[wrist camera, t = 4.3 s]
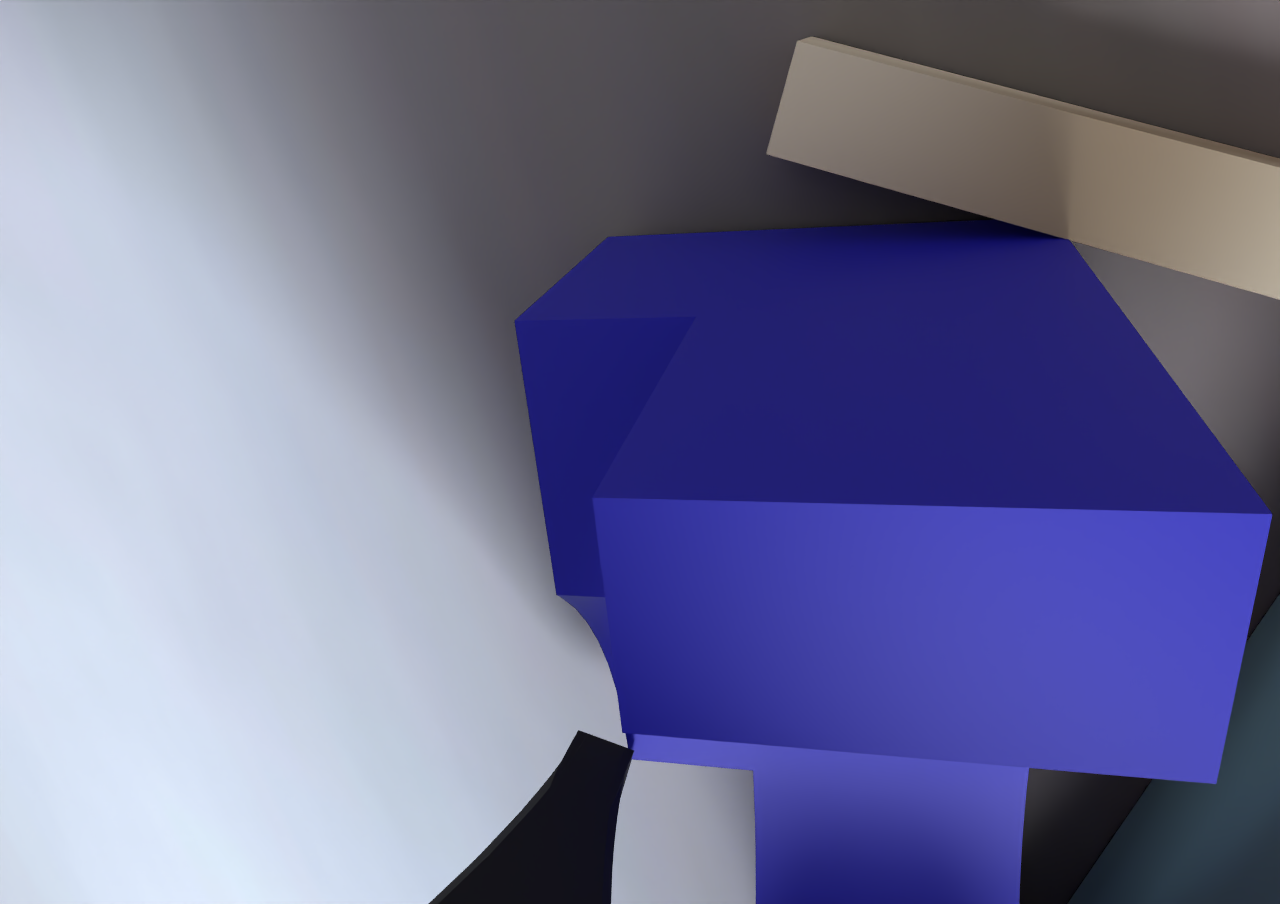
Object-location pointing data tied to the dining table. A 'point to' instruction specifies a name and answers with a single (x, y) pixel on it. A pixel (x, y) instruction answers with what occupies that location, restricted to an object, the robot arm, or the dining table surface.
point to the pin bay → (1120, 223)
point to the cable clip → (887, 536)
